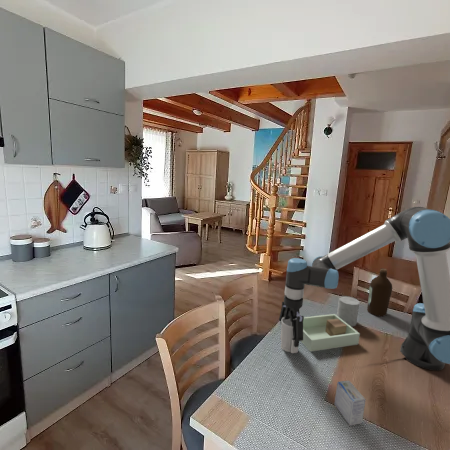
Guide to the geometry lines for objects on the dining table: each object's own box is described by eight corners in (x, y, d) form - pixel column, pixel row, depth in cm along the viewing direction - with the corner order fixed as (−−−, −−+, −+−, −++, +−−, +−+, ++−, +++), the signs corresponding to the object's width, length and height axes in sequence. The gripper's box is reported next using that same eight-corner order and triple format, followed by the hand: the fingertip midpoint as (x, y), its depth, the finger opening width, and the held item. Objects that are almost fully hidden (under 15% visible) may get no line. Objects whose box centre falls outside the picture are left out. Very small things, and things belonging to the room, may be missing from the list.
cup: (299, 345, 119) (302, 319, 117) (296, 355, 112) (299, 329, 110) (281, 339, 122) (283, 314, 120) (276, 349, 115) (279, 323, 113)
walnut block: (344, 337, 125) (346, 325, 124) (333, 339, 123) (335, 327, 122) (336, 330, 131) (337, 318, 130) (325, 331, 129) (326, 320, 128)
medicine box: (362, 424, 83) (366, 399, 81) (349, 426, 82) (353, 401, 80) (345, 402, 90) (349, 379, 88) (333, 404, 89) (337, 381, 87)
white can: (358, 329, 134) (362, 306, 132) (337, 326, 136) (341, 303, 133) (353, 319, 143) (356, 297, 141) (334, 316, 145) (337, 294, 143)
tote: (357, 345, 121) (359, 333, 120) (310, 353, 114) (311, 340, 113) (333, 324, 137) (334, 313, 136) (289, 330, 130) (291, 318, 129)
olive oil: (387, 311, 154) (395, 268, 149) (387, 319, 145) (395, 274, 140) (366, 305, 159) (373, 264, 154) (365, 313, 150) (372, 269, 145)
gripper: (317, 307, 104) (310, 360, 108) (289, 284, 124) (284, 330, 128) (299, 309, 102) (293, 363, 106) (273, 285, 122) (269, 332, 126)
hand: (288, 345), depth 117 cm, fingers open, 9 cm apart
